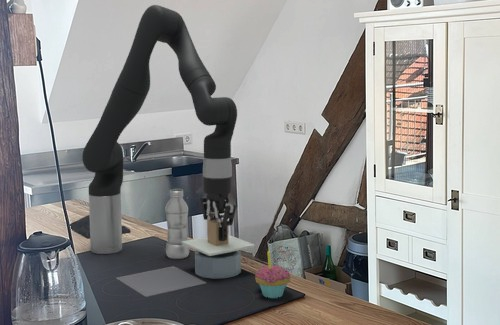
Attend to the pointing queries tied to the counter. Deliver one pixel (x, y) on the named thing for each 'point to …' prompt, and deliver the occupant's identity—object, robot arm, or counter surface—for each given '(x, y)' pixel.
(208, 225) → the lid
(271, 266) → the cupcake
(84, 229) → the dark slate chunk
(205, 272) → the bowl
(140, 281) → the mat
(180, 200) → the plastic bottle
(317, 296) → the counter surface
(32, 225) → the counter surface
